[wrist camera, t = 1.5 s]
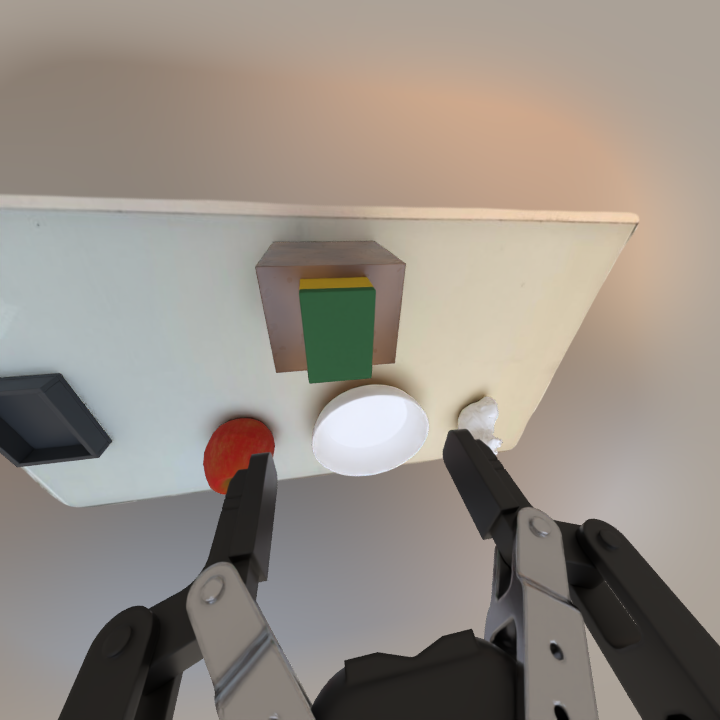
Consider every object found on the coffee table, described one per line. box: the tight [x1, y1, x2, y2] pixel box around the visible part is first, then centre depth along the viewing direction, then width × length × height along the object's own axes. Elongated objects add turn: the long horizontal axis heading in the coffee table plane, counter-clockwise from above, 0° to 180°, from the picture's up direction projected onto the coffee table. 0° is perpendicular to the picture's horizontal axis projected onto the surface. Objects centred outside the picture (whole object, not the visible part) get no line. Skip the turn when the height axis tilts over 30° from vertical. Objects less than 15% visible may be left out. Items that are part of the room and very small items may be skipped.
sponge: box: [299, 277, 376, 384], centre depth 22 cm, size 8×6×4 cm
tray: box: [0, 374, 112, 467], centre depth 35 cm, size 13×10×3 cm
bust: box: [458, 396, 503, 455], centre depth 48 cm, size 12×8×11 cm
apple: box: [203, 418, 275, 494], centre depth 40 cm, size 10×10×10 cm
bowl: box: [312, 384, 429, 476], centre depth 44 cm, size 20×20×6 cm
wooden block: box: [255, 241, 406, 373], centre depth 28 cm, size 12×10×12 cm
